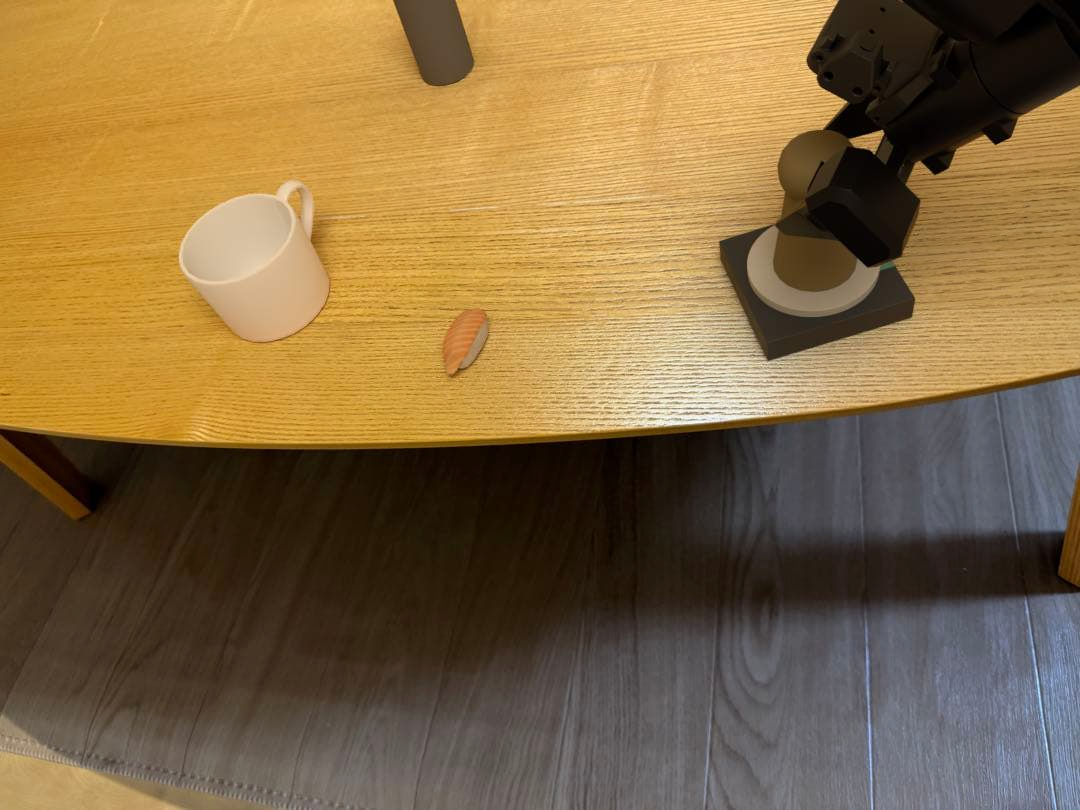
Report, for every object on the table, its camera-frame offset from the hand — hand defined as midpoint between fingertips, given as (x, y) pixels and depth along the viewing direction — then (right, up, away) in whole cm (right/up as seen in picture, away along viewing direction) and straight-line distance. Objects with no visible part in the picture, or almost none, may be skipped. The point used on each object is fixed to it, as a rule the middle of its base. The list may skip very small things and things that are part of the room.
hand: (803, 181), depth 64 cm
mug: (-41, -5, +21) cm, 46 cm away
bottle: (-28, +20, +35) cm, 49 cm away
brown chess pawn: (+3, -5, +6) cm, 8 cm away
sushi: (-24, -11, +12) cm, 29 cm away
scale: (+3, -6, +8) cm, 11 cm away
